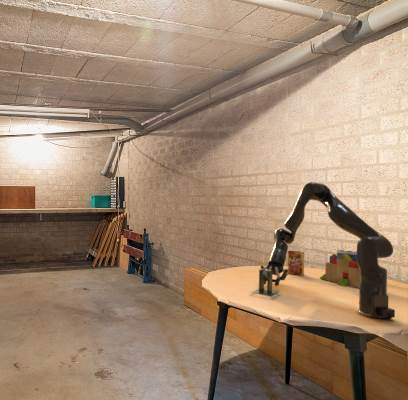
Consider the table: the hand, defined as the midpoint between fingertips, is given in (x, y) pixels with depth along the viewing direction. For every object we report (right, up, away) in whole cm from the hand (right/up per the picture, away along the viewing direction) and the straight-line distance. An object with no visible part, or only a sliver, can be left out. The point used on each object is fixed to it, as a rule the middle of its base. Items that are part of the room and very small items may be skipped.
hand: (270, 284), depth 179 cm
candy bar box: (+70, -5, +42) cm, 81 cm away
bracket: (-5, -4, -5) cm, 8 cm away
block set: (+54, -5, +20) cm, 58 cm away
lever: (-2, +3, -2) cm, 5 cm away
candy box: (+38, -5, +45) cm, 59 cm away
